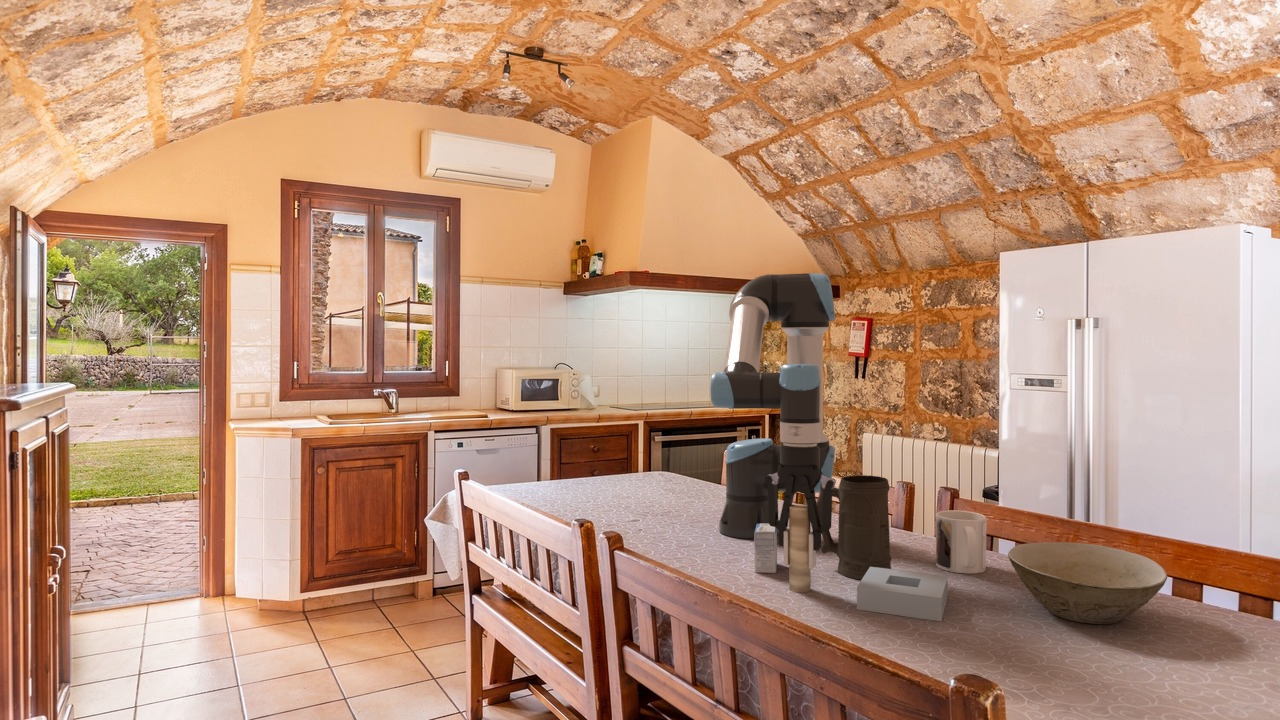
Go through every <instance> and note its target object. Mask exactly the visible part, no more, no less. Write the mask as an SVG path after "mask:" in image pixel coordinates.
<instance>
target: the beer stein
mask: <svg viewBox="0 0 1280 720" xmlns="http://www.w3.org/2000/svg"><path fill="white" fill-rule="evenodd" d="M890 490H891V487H890V484H889V480H888V478H886V477H883V476H877V475H865V474H863V475H862V474H860V475H859V474H858V475H846V476H842V477H841V478H840V481H839V485H838V487H835V486H834V488H833V490H832V498H833V497H834V498H837V499H838V502H839V503H838V504H839V505H838V506H839V507H838V535H837V537H838V538H837V539H838V540H837V541H838V542H835V541H834V540H833V538H832V535H831V532H830V529H829V530H828V531H827V532H822V533H821V538H822V541H823V542H822V543H821V548H820V551H821V553H822V554H826V553H833V554H835V555H836V556H837V557H838V559H839V560H838V565H837V571H838V572H839V574H841V575H842V576H844V577H848V578H850V579H855V580H860V581H861V580H862V578H863V577H864V575H865V574H866V572H867V571H868V569H869V568H870V567H878V568H886V569H892V566H891V565H892V563H891V562H892V556H891V546H890V544H891V543H890V541H891V540H890V539H891V538H890V520H889V516H890V515H889V491H890ZM823 492H824V488H822V484H820V493H818V498H817V499H816V503H817V508H818V513H819V517H820V522H821V525H822V517H823Z"/></svg>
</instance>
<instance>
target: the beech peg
mask: <svg viewBox="0 0 1280 720" xmlns="http://www.w3.org/2000/svg"><path fill="white" fill-rule="evenodd" d="M788 529H789V565H788V572H789V573H788V574H789V576H788V577H789V578H788V579H789V581H788V585H789V587H788V589H789V590H790V591H792V592H794V593H809V592H810V591H811V584H812V583H811V582H812V581H811V580H812V579H811V574H812V573H811V569H810V568H809V534H810V533H811V521H810V516H809V511H808V507H807V504H804V503H803V504H802V503H801V504H799V503H795V504H792V505H791V506H789V521H788Z"/></svg>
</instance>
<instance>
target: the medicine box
mask: <svg viewBox="0 0 1280 720" xmlns="http://www.w3.org/2000/svg"><path fill="white" fill-rule="evenodd" d="M777 537H778V535H777V528H775V527H772V526H770V525H769V524H757V526H756V530H755V534H754V539H753V540H754V544H753V545H754V572H755V573H761V574H776V573H777V565H778V543H777V542H778V539H777Z"/></svg>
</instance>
